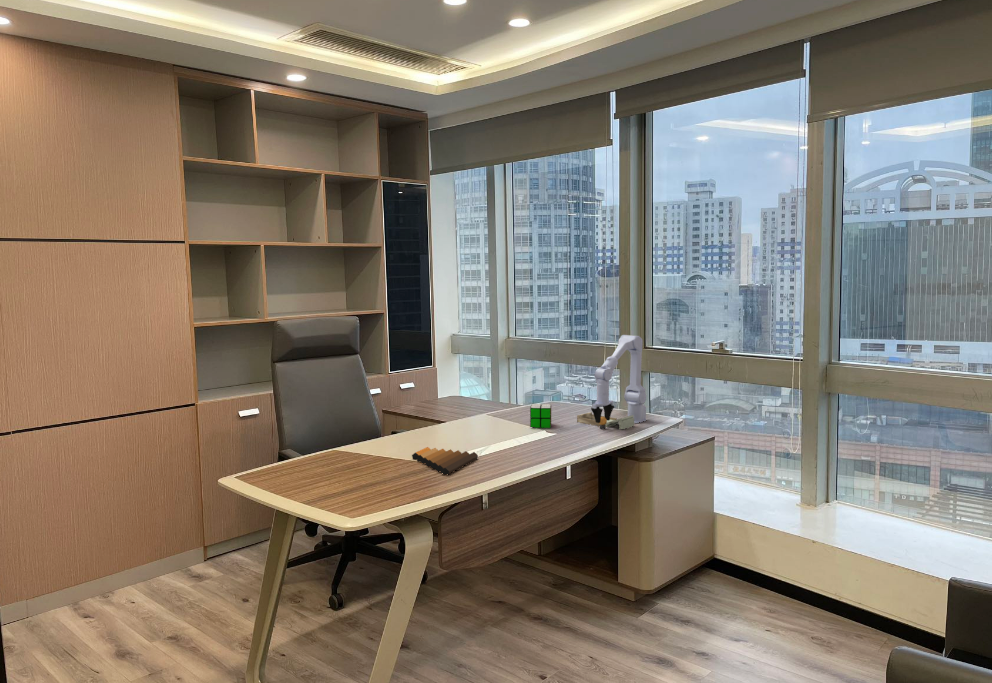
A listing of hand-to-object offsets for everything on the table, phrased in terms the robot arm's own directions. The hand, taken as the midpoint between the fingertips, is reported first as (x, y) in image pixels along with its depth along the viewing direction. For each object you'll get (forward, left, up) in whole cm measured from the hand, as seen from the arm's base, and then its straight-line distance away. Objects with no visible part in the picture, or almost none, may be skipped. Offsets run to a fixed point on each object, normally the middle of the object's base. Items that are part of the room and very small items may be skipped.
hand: (602, 421), depth 338 cm
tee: (0, 0, -4) cm, 4 cm away
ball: (0, 0, 0) cm, 0 cm away
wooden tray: (-10, -10, -4) cm, 14 cm away
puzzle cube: (+15, -26, -4) cm, 30 cm away
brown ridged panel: (+95, -12, -4) cm, 96 cm away
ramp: (-10, 0, -4) cm, 10 cm away
